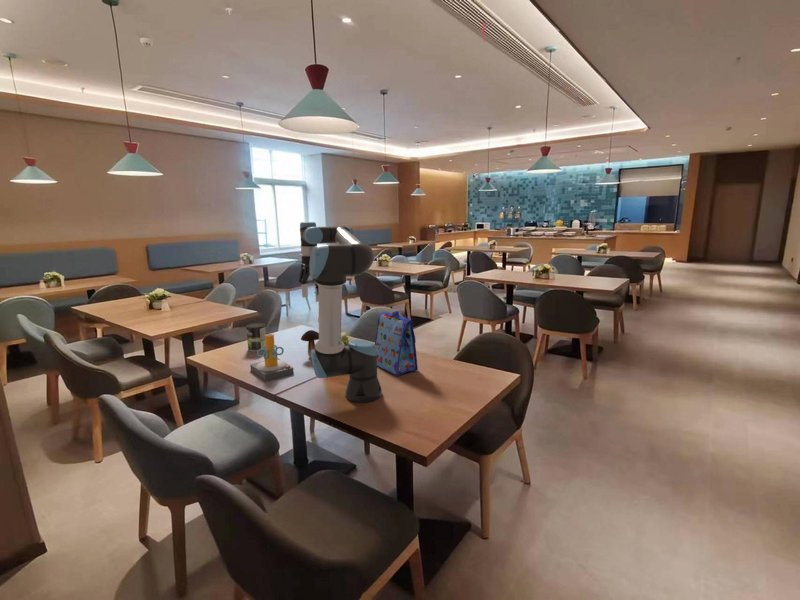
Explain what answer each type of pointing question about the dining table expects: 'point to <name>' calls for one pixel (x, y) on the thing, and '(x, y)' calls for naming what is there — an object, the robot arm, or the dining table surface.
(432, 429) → the dining table surface
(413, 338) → the lunch bag
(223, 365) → the dining table surface
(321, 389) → the dining table surface
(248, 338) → the coffee can
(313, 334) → the decorative mushroom
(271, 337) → the yellow tube with rings
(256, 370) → the mount slab
